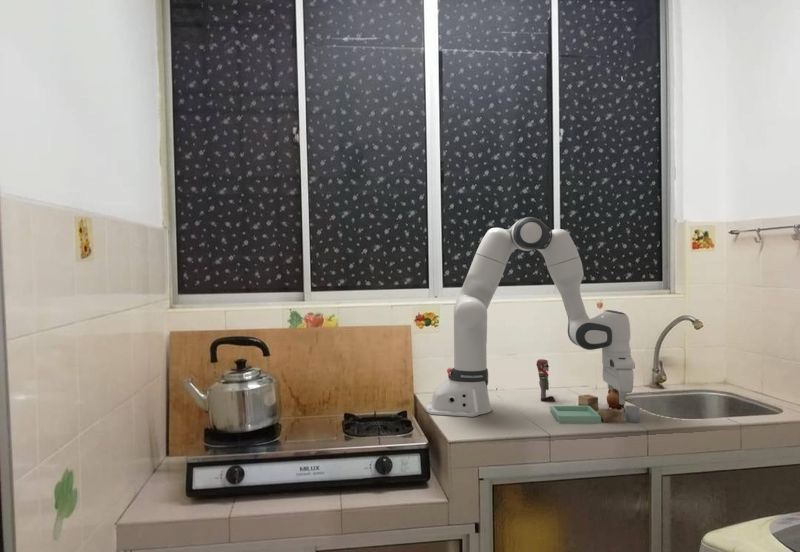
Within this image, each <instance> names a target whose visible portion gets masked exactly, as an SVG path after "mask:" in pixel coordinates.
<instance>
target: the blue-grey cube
mask: <svg viewBox="0 0 800 552" xmlns="http://www.w3.org/2000/svg"><path fill="white" fill-rule="evenodd" d="M625 421H626V422H627V423H629V424H639V423H641V408H640V406H636V405H626V406H625Z"/></svg>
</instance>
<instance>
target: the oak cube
mask: <svg viewBox="0 0 800 552" xmlns="http://www.w3.org/2000/svg"><path fill="white" fill-rule="evenodd" d="M577 400H578V401H577V403H578V405H577V406H590V407H591V408H592V409H594V410H595V411H596V412H598V409H599V397H598V396H595V395H592V394H581V395H578V399H577Z"/></svg>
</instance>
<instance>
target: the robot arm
mask: <svg viewBox="0 0 800 552" xmlns="http://www.w3.org/2000/svg"><path fill="white" fill-rule="evenodd" d="M534 250H536V251H538V252H539V253H540V254H541V256H542V257H543V258H544V261H545V266H546V267H547V268H546V269H547V271H548V274H549V275H550V277H551V279H552V282H553V284H554V285H555V287H556V289H557V290H558V292H559V294H560V296H561V299H562V303H563V307H564V309H565V312H566V315H567V318H568V324H567V335H568V338H569V340H570V341H571V343H572V344H574V345H576V346H578V347H580V348H582V349H583V350H589V351H593V350H598V349H601V357H602V358H601V359H602V360H601V363H602V380H603V381H604V382H605V383H606V384H607V389H608V390H609V389H611V390H612V389H616V390H618V391H619V398H618V403H619V404H621V405H624V404H625V405H626V402H625V399H626V398H627V395H628V394H631V393H632V392H633V389H634V379H635V378H634V370H635V369H636V363H635V361H634V359H633V358H632V354H631V347H630V340H631V325H630V324H631V323H630V320H629V316H628V314H626V313H624V312H622V311H618V310H617V311H616V310H610V309H605V310H604V311H602V313H600V314H598V315H596V316H595V317H592V318H590V317H589V316H588V314H587V311H586V309H585V305H584V301H583V299H582V295H581V284H582V281H583V279H584V267H583V263H582V260H581V257H580V253H579V251H578V248H577V247H576V245H575V242H574V241H573V239H572V236H571V235H570V234H569V232H568V231H567V230H566V229H561V228H555V229H551V228H550V227H549V226H548V225H546V224H545V223H544V222H543V221H542V220H540V219H538V218H536V217H533V216H527V217H523V218H520V219H518V220H517V221H516V222H515V223H514V224H513V225H511V226H510V227H509V228H508V229H506V228H505V229H504V228H502V227H492V228H489V229H488V230H487V232H486V233H485V235H484V236H483V238H482V239H481V241H480V243H479V245H478V248H477V250H476V252H475V254H474V257H473V259H472V261H471V265H470V267H469V269H468V271H467V272H468V273H467V274H466V276H465V280H464V282H463V285H462V286H461V290H460V292H459V294H458V297H457V299H456V302H455V304H454V307H453V360H454V361H453V366H454V367H447V369H446V372H447V376H448V379H446V380H445V381H444V382H443V383H442V384H440V385H439V386H438V387H436V388H435V389H434V391H433V394H432V397H431V398H432V399H431V401H430V402H428V403H427V404H425V411H426V412H427V413H428V414H430V415H436V416H437V415H440V416H442V415H443V416H454V417H471V418H473V417H477V416H479V415H484V414H488V413H490V412H492V410H493V409H492V406H491V401H490V396H489V389H488V386H489V369H488V368H487V367H488V366H487V364H488V363H487V343H488V341H487V340H488V337H487V336H488V308H489V306H490V304H491V302H492V299H493V297H494V295H495V293H496V291H497V289H498V287H499V284H500V281H501V279H502V277H503V274H504V272H505V269H506V267H507V265H508V261H509V258H510V257H511V255H512V253H514V251H524V252H525V251H526V252H530V251H534ZM608 390H607V391H608ZM610 393H611V391H610ZM626 400H627V399H626ZM625 405H624V406H625Z"/></svg>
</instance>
